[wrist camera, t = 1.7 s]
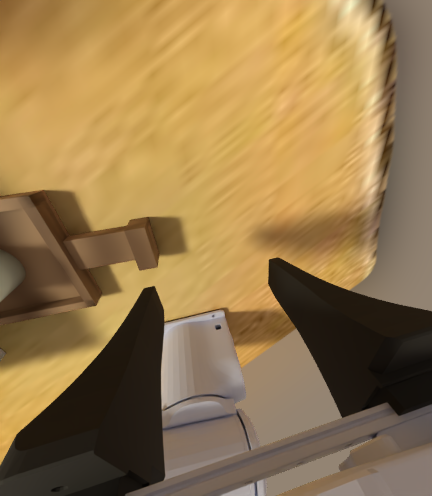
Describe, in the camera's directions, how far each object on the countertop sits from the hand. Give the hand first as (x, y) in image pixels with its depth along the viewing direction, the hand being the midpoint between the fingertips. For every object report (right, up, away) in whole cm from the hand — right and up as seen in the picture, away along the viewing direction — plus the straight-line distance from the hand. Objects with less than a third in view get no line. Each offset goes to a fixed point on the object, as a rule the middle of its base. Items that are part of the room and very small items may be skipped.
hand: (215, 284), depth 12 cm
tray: (-14, +2, +6) cm, 15 cm away
